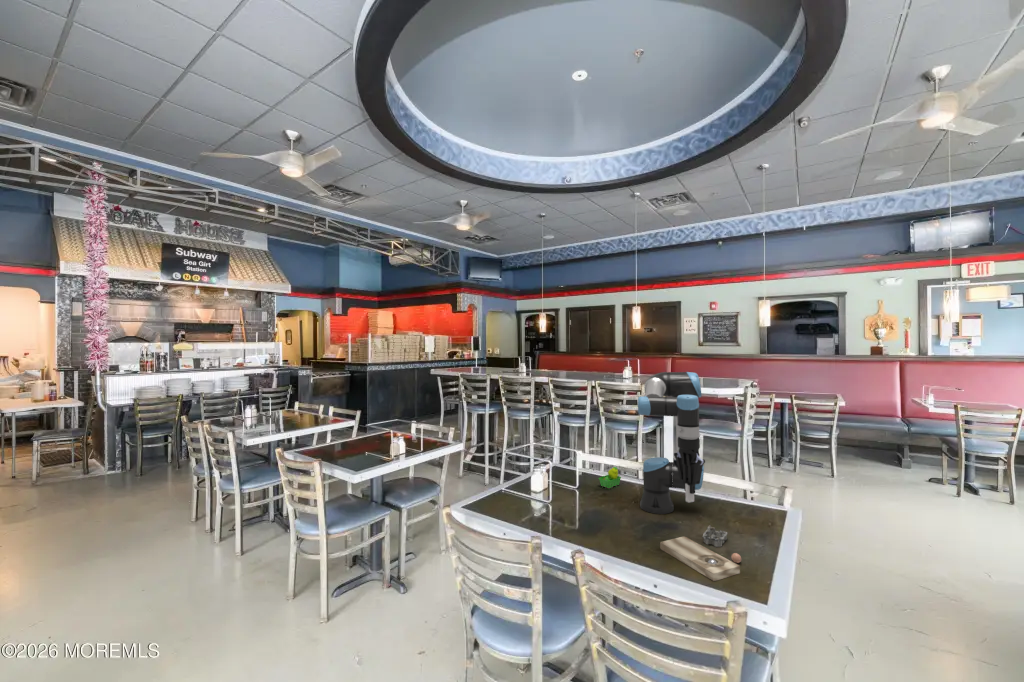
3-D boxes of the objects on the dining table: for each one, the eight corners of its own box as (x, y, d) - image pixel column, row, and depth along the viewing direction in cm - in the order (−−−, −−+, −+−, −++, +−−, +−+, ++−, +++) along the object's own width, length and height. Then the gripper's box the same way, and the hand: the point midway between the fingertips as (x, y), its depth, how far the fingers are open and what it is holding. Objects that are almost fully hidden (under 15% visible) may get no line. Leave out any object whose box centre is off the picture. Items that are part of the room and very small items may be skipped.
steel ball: (717, 557, 149) (721, 568, 148) (710, 558, 152) (714, 568, 150) (710, 559, 148) (714, 569, 146) (703, 560, 150) (707, 570, 149)
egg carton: (709, 534, 177) (709, 524, 177) (729, 539, 171) (729, 529, 171) (700, 543, 169) (700, 532, 169) (720, 549, 164) (720, 538, 164)
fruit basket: (610, 482, 244) (610, 462, 244) (623, 486, 237) (623, 465, 237) (598, 487, 236) (597, 466, 236) (611, 491, 230) (610, 470, 230)
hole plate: (684, 542, 169) (684, 536, 169) (740, 573, 146) (739, 565, 146) (660, 548, 164) (660, 542, 164) (713, 581, 141) (713, 573, 141)
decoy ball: (735, 559, 155) (735, 550, 155) (743, 563, 152) (743, 554, 152) (729, 561, 154) (729, 552, 154) (737, 565, 151) (736, 556, 151)
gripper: (667, 434, 163) (669, 497, 163) (694, 441, 151) (696, 509, 151) (682, 433, 166) (684, 494, 166) (710, 439, 154) (712, 505, 154)
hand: (690, 501), depth 158 cm, fingers closed
